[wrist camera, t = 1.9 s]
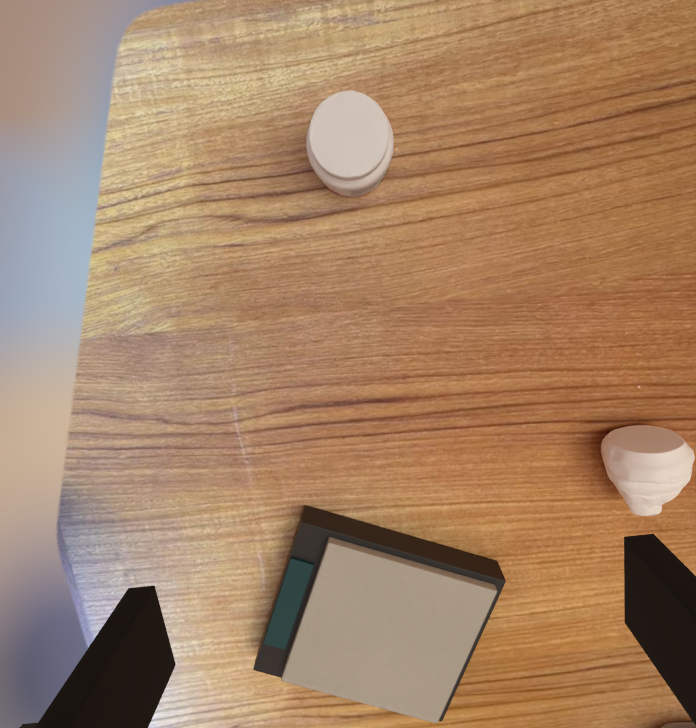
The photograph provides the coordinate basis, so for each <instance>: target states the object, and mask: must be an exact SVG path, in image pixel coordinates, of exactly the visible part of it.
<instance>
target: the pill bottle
mask: <svg viewBox="0 0 696 728" xmlns="http://www.w3.org/2000/svg"><path fill="white" fill-rule="evenodd" d="M393 148H394V138H393V131H392V128H391V125H390V122H389V120H388V118H387V117H386V115H385V114H384V112H383V110H382V109H381V107H380V106H379V105H378V104H377V103H376V101H374V100H373V99H372V98H370V97H369V96H367V95H365V94H363V93H360V92H357V91H341V92H337V93H335V94H332V95H331V96H329V97H327V98H326V99H325V100H323V101H322V102H321V103H320V104H319V106H318V107H317V108H316V110H315V112H314V114H313V116H312V118H311V121H310V124H309V127H308V131H307V136H306V149H307V155H308V159H309V161H310V164H311V166H312V168H313V170H314V171H315V173H316V174H317V176H318V177H319V178H320V180H321V181H322V182H323V184H324V185H325V186H326V187H327V188H328V189H329V190H331V191H332V192H334V193H335V194H338V195H340V196H343V197H350V198H352V197H360V196H363V195H366V194H368V193H369V192H371V191H373V190H374V189H375V188H376V187H377V186H378V185H379V184H380V183H381V181H382V180H383V178H384V176H385V174H386V171H387V169H388V166H389V164H390V161H391V158H392V154H393Z"/></svg>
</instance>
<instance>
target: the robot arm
mask: <svg viewBox="0 0 696 728" xmlns="http://www.w3.org/2000/svg"><path fill="white" fill-rule="evenodd" d="M624 573H625V624H626V625H627V626H628V628H629V629H630V631H631V632H632V634H633V635H634V637H635V638H636V639H637V641H638V642H639V644H640V645H641V647H642V648H643V650H644V651H645V653H646V654H647V655H648V657H649V658H650V660H651V661H652V663H653V664H654V666H655V667H656V668H657V670H658V671H659V673H660V674H661V676H662V677H663V679H664V680H665V682H666V683H667V684H668V686H669V687H670V689H671V690H672V692H673V693H674V695H675V696H676V697H677V699H678V700H679V702H680V703H681V705H682V706H683V708H684V709H685V710H686V712H687V713H688V715H689V716H690V718H691V719H692V721H693V722H694V724H695V725H696V576H695V575H694V574H693V573H692V572H691V571H690V570H689V569H688V568H687V567H686V566H685V565H684V564H683V563H682V562H681V561H680V560H679V559H678V558H677V557H676V556H675V555H674V554H673V553H672V552H671V551H670V550H669V549H668V548H667V547H666V546H665V545H664V544H663V543H662V542H661V541H660V540H659V539H658V538H657V537H656V536H655V535H654V534H648V535H638V536H628V537H624ZM175 665H176V664H175V661H174V657H173V653H172V649H171V646H170V642H169V638H168V635H167V631H166V627H165V623H164V620H163V616H162V612H161V608H160V605H159V601H158V597H157V594H156V590H155V586H147V587H137V588H128V590H127V591H126V593H125V594H124V596H123V597H122V599H121V600H120V602H119V603H118V605H117V606H116V608H115V609H114V611H113V612H112V614H111V615H110V617H109V618H108V620H107V621H106V623H105V624H104V626H103V627H102V629H101V630H100V632H99V633H98V635H97V636H96V638H95V639H94V641H93V642H92V644H91V645H90V647H89V648H88V650H87V651H86V653H85V654H84V656H83V657H82V659H81V660H80V662H79V663H78V664H77V666H76V667H75V669H74V670H73V672H72V674H71V675H70V677H69V678H68V679H67V681H66V682H65V684H64V685H63V687H62V688H61V690H60V691H59V693H58V694H57V696H56V697H55V699H54V700H53V702H52V703H51V705H50V706H49V708H48V709H47V711H46V712H45V714H44V715H43V717H42V718H41V720H40V721H39V723H31V724H23V725H22V726H21V727H20V728H148V726H149V724H150V722H151V719H152V717H153V715H154V713H155V710H156V708H157V706H158V704H159V701H160V699H161V697H162V694H163V692H164V690H165V688H166V685H167V683H168V681H169V678H170V676H171V674H172V672H173V669H174V667H175Z"/></svg>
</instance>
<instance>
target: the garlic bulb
mask: <svg viewBox="0 0 696 728" xmlns="http://www.w3.org/2000/svg"><path fill="white" fill-rule="evenodd" d="M601 454H602V459H603V461H604V465H605V468H606V471H607V475H608V477H609V479H610V480H611V481H612V482H613V483H614V485H615V487H616V488H617V490H618V491H619V493H620V494H621V495H622V496H623V498H624V500H625V502H626V504H627V506H628V507H629V509H630V511H631V512H632V513H633V514H635V515H640V516H651V515H657V514H659V513H660V512H661V511H662V504H664V503H666V502H669V501H670V500H672V499H673V498H675V497H676V496H677V495H678V494H679V493H680V492H681V490H682V488H683V487H684V486H685V485H686V484H687V483H688V482H689V481H690V478H691V474H692V465H693V462H694V459H695V457H694V452H693V450H692V449H691V448H690V446H689V445H688V444H687V443H686V442H685V441H684V440H683V438H682V437H681V436H680V435H679V434H677V433H676V432H674V431H671V430H669V429H665V428H661V427H656V426H650V425H634V426H627V427H622V428H619V429H615V430H613V431H611V432H610V433H608V434H607V435H606V436H605V437H604V439H603V440H602V443H601Z"/></svg>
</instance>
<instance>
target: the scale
mask: <svg viewBox="0 0 696 728" xmlns="http://www.w3.org/2000/svg"><path fill="white" fill-rule="evenodd" d="M505 582H506V581H505V578H504V576H503V574H502V571H501V569H500V567H499V564H498V562H497V561H494V560H491V559H488V558H484V557H481V556H477V555H474V554H470V553H467V552H464V551H460V550H457V549H453V548H450V547H446V546H443V545H440V544H436V543H433V542H429V541H426V540H422V539H419V538H416V537H412V536H409V535H405V534H402V533H398V532H395V531H392V530H388V529H385V528H381V527H378V526H374V525H371V524H368V523H364V522H361V521H357V520H354V519H350V518H347V517H344V516H340V515H337V514H333V513H330V512H326V511H323V510H320V509H316V508H313V507H309V506H306V505H305V506H304V509H303V512H302V515H301V518H300V521H299V524H298V527H297V530H296V533H295V537H294V540H293V543H292V546H291V549H290V552H289V555H288V558H287V561H286V564H285V568H284V571H283V574H282V577H281V580H280V583H279V586H278V589H277V592H276V595H275V599H274V602H273V605H272V608H271V611H270V614H269V617H268V620H267V623H266V626H265V630H264V633H263V636H262V639H261V642H260V645H259V649H258V653H257V657H256V661H255V665H254V670H256V671H259V672H263V673H267V674H270V675H274V676H278V677H281V678H282V679H281V681H282V682H286V683H290V684H293V685H297V686H301V687H304V688H308V689H312V690H315V691H319V692H323V693H326V694H330V695H334V696H338V697H341V698H345V699H349V700H352V701H356V702H360V703H363V704H367V705H371V706H374V707H378V708H382V709H385V710H389V711H393V712H396V713H400V714H404V715H407V716H411V717H415V718H418V719H422V720H426V721H429V722H433V723H438V721H442V720H443V718H444V716H445V713H446V711H447V709H448V707H449V705H450V702H451V700H452V698H453V696H454V694H455V692H456V689H457V687H458V685H459V683H460V681H461V678H462V676H463V674H464V672H465V670H466V667H467V665H468V663H469V661H470V659H471V656H472V654H473V652H474V650H475V648H476V645H477V643H478V641H479V639H480V637H481V634H482V632H483V630H484V628H485V626H486V624H487V621H488V619H489V617H490V615H491V613H492V610H493V608H494V606H495V604H496V602H497V599H498V597H499V595H500V593H501V591H502V588H503V586H504V584H505Z"/></svg>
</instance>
